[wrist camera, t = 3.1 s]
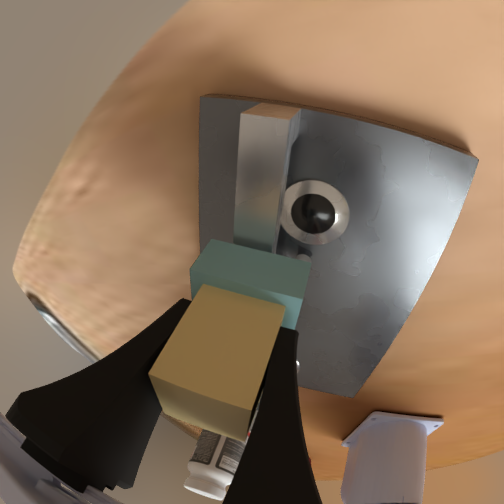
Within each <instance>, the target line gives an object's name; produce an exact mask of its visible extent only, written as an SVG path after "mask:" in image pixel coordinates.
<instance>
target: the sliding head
mask: <svg viewBox="0 0 504 504" xmlns="http://www.w3.org/2000/svg"><path fill="white" fill-rule="evenodd" d="M311 264H312V263H311V259H310V257H309V256H307V255H305V254H300V255H297V256H296V258H295V259H294V258H290V257H285V256H281V255H277V254H273V253H269V252H265V251H261V250H257V249H252V248H248V247H244V246H240V245H236V244H232V243H228V242H223V241H219V240H215V239H211V240H210V242H209V243H208V244H207V246H206V247H205V248H204V250H203V251H202V253H201V254H200V255H199V257H198V258H197V260H196V261H195V262H194V264H193V265H192V267H191V268H190V282H191V295H192V302H191V304H190V305H189V307H188V309H187V310H186V312H185V314H184V315H183V317H182V318H181V320H180V322H179V323H178V325H177V327H176V328H175V330H174V332H173V333H172V335H171V336H170V338H169V340H168V341H167V343H166V345H165V346H164V348H163V350H162V351H161V353H160V355H159V356H158V358H157V360H156V361H155V363H154V365H153V366H152V368H151V370H150V371H149V373H148V374H149V377H150V380H151V382H152V385H153V387H154V390H155V392H156V395H157V397H158V399H159V402H160V404H161V406H162V409H163V411H164V413H165V414H167V415H169V416H171V417H174V418H176V419H179V420H181V421H184V422H187V423H189V424H192V425H195V426H197V427H200V428H203V429H206V430H208V431H211V432H214V433H217V434H220V435H223V436H226V437H229V438H233V439H236V440H239V441H243V442H245V440H246V438H247V435H248V432H249V429H250V426H251V424H252V421H253V418H254V415H255V412H256V409H257V406H258V403H259V400H260V397H261V394H262V391H263V387H264V383H265V379H266V375H267V370H268V366H269V362H270V357H271V353H272V349H273V346H274V343H275V340H276V337H277V334H278V332H279V329H280V326H282V327H286V328H289V329H293V330H295V326H296V323H297V319H298V316H299V312H300V308H301V305H302V301H303V297H304V293H305V289H306V285H307V281H308V277H309V272H310V268H311Z"/></svg>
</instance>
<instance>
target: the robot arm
mask: <svg viewBox="0 0 504 504" xmlns="http://www.w3.org/2000/svg"><path fill="white" fill-rule="evenodd" d="M191 302H192V301H190V300H187V299H184V298H182V299H180V300H179V301H178V302H177V303H176V304H174V305H173V306H172V307H171V308H170V309H169V310H167V311H166V312H165V313H164V314H163V315H162V316H160V317H159V318H158V319H157V320H156V321H154V322H153V323H152V324H151V325H149V326H148V327H147V328H146V329H144V330H143V331H142V332H140V333H139V334H138V335H137V336H135V337H134V338H132V339H131V340H130V341H128V342H127V343H125V344H124V345H123V346H121V347H120V348H118V349H117V350H115V351H114V352H112V353H111V354H109V355H108V356H106V357H104V358H103V359H101V360H99V361H98V362H96V363H94V364H92V365H90V366H88V367H87V368H85V369H83V370H81V371H79V372H77V373H75V374H72V375H70V376H68V377H65V378H63V379H61V380H58V381H56V382H53V383H51V384H48V385H45V386H42V387H39V388H35V389H32V390H29V391H25V392H22V393H21V394H20V395H19V396H18V398H17V399H16V400H15V402H14V403H13V405H12V406H11V408H10V409H9V411H8V412H7V414H6V415H5V416H6V417H5V416H4V415H3V414H1V412H0V497H1V498H2V499H3V501H4V502H5V503H6V504H90V503H92V504H123V503H121V502H119V501H117V500H115V499H114V498H112V497H110V496H108V495H107V494H105V493H103V490H104V488H105V487H107V488H108V489H110V490H113V489H114V488H115V486H116V485H117V486H119V487H121V488H123V489H128V488H131V487H133V484H134V481H135V478H136V475H137V472H138V468H139V465H140V463H141V460H142V457H143V454H144V451H145V449H146V446H147V444H148V441H149V439H150V436H151V434H152V431H153V429H154V427H155V424H156V422H157V420H158V417H159V415H160V413H161V411H162V406H161V404H160V402H159V399H158V397H157V395H156V392H155V390H154V387H153V385H152V382H151V380H150V377H149V374H148V373H149V371H150V370H151V368H152V366H153V365H154V363H155V361H156V360H157V358H158V356H159V355H160V353H161V351H162V350H163V348H164V346H165V345H166V343H167V341H168V340H169V338H170V336H171V335H172V333H173V332H174V330H175V328H176V327H177V325H178V323H179V322H180V320H181V318H182V317H183V315H184V314H185V312H186V310H187V309H188V307H189V305H190V304H191ZM298 336H299V333H298V331H297V330H293V329H289V328H286V327H282V326H280V329H279V332H278V334H277V337H276V340H275V343H274V346H273V349H272V353H271V357H270V362H269V366H268V370H267V375H266V379H265V383H264V387H263V392H262V396H261V401H260V405H259V409H258V413H257V415H256V418H255V421H254V424H253V427H252V429H251V432H250V435H249V438H248V440H247V443H246V446H245V448H244V451H243V454H242V456H241V459H240V462H239V464H238V467H237V469H236V472H235V474H234V477H233V479H232V482H231V484H230V487H229V489H228V491H227V494H226V497H225V499H224V501H223V503H222V504H322V501H321V499H320V495H319V492H318V489H317V486H316V483H315V479H314V475H313V471H312V468H311V464H310V460H309V456H308V452H307V447H306V443H305V437H304V432H303V426H302V420H301V413H300V405H299V396H298V382H297V344H298ZM443 423H444V420H443V419H440V418H428V417H418V416H409V415H401V414H393V413H386V412H379V411H375V412H372V413H371V414H370V415H369V416H368V417H367V418H366V419H365V420H364V421H363V422H362V423H361V424H360V425H359V426H358V427H357V428H356V429H355V430H354V431H353V432H352V433H351V434H350V435H349V436H348V437H347V438H346V439H345V440H344V441H343V442H342V444H341V445H342V446H345V447H349V451H348V456H347V462H346V467H345V472H344V477H343V482H342V486H341V498H342V501H343V503H344V504H422V498H423V489H424V479H425V467H426V450H427V435H429V434H430V433H432V432H433V431H434V430H436V429H437V428H438V427H440V426H441V425H442V424H443ZM13 426H14V427H16V428H17V429H18V430H19V431H20V432H21V433H22V434H23V435H22V434H21V433H20V432H19V431H18V430H17V429H16V428H14V427H13ZM24 435H25V436H26V437H25V436H24ZM60 482H61V483H62V484H63V485H65V486H66V487H68V488H69V489H71V490H72V491H73V492H71V491H70V490H68V489H66V488H64V487H62V486H61V483H60ZM74 492H75V493H74ZM77 494H78V495H77ZM82 497H83V498H82ZM85 499H86V500H87V501H86V500H85ZM88 501H89V502H90V503H89V502H88Z"/></svg>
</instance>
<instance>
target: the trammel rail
mask: <svg viewBox="0 0 504 504" xmlns="http://www.w3.org/2000/svg"><path fill="white" fill-rule="evenodd" d="M300 115H301V108H295V107H289V106H282V105H276V104H269V103H260V104H258V105H256V106H254V107H252V108H250V109H248V110H246V111H244V112H242V113H241V116H240V131H239V146H238V162H237V179H236V196H235V214H234V233H233V244H236V245H240V246H244V247H248V248H252V249H257V250H261V251H265V252H269V253H273V254H276V250H277V243H278V237H279V230H280V224H281V217H282V210H283V203H284V196H285V189H286V182H287V175H288V168H289V161H290V153H291V146H292V144H293V143H294V141H295V140H296V138H297V137H298V130H299V123H300ZM262 392H263V391H262ZM261 396H262V394H261ZM260 401H261V397H260V400H259V403H258V406H257V409H256V412H255V415H254V418H253V421H252V424H251V426H250V429H249V431H251V429H252V427H253V424H254V421H255V418H256V415H257V413H258V409H259V405H260Z"/></svg>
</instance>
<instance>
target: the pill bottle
mask: <svg viewBox="0 0 504 504" xmlns="http://www.w3.org/2000/svg"><path fill="white" fill-rule="evenodd" d="M250 432H251V431H249V432H248V435H247V438H246V440H245V442H243V441H239V440H236V439H233V438H229V437H226V436H223V435H220V434H217V433H214V432H211V431H208V430H206V429H203V430H202V432H201V435H200V437H199V439H198V442H197V444H196V446H195V449H194V451H193V453H192V455H191V458H190V460H189V463H188V469H189V471H190V472H191V475H190V477H188V478H186V481H185V483H184V487H185V488H187V489H189V490H191V491H193V492H196V493H198V494H201V495H204V496H206V497H210V498H213V499H217V500H223V499H224V496H225V494H226V491H225V487H226V485H230V484H231V482H232V479H233V477H234V474H235V472H236V469H237V467H238V464H239V462H240V459H241V456H242V454H243V451H244V448H245V446H246V443H247V440H248V438H249V435H250Z"/></svg>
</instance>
